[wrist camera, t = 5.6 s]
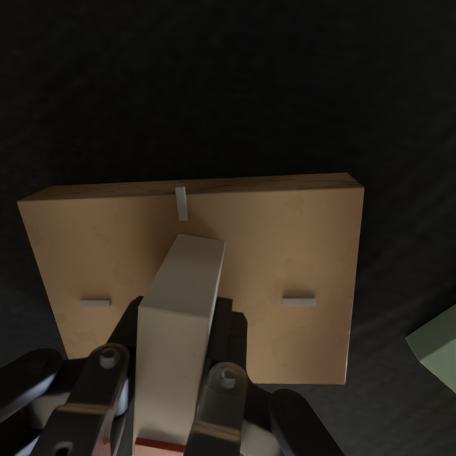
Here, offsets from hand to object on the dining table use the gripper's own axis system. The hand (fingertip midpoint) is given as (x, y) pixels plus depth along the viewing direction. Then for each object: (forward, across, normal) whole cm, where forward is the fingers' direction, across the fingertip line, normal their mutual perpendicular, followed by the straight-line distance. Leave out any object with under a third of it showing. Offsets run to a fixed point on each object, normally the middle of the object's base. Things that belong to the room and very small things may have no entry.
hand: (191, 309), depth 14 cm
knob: (+1, 0, 0) cm, 1 cm away
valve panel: (+3, 0, 0) cm, 3 cm away
